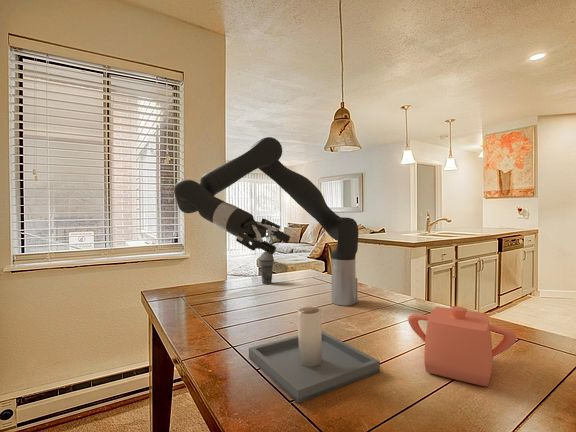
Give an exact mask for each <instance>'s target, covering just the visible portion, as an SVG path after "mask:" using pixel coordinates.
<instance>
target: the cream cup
mask: <svg viewBox="0 0 576 432" xmlns="http://www.w3.org/2000/svg"><path fill="white" fill-rule="evenodd" d="M322 331H323V330H322V309H321V308H319V307H316V306H305V307H304V306H303V307H300V308H298V309H297V336H298V347H299V363H300V364H301V365H303V366H306V367H315V366H318V365H320V364H321V363H322Z"/></svg>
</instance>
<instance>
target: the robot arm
mask: <svg viewBox="0 0 576 432" xmlns="http://www.w3.org/2000/svg"><path fill="white" fill-rule="evenodd" d="M282 155H283V147H282V144H281V142H280V141H279V140H278V139H276V138H275V137H271V136H269V137H262V138H261V139H260V140H258V141H257V142H255V143H254V144H253V145H252V146H251V147H250V148H249V150H248V151H246V152H244V153H242V154H240V155H239V156H237V157H235V158H233V159H231V160H229V161H227V162H225V163H223V164H221V165H219V166H217V167H215V168H213V169H212V170H210V171H207V172H206V173H204V174H203V175H202V176H201V177H200V182H199V183H198V182H197V181H195V180H193V179H186V178H185V179H181V180H179V181H177V183H175V185H174V188H173V193H174V196H175V200H176V202H177V207H178V209H179V210H180V211H181V212H183V213H184V214H193V213H197V212H198V213H199V216H201V217H202V218H203V219H204V220H206V221H209V222H210V223H212V224H214V225H215V226H217V227H218V228H219V229H221V230H223V231H224V232H226V233H228V234H230V235H233V236H234V237H236V240H235V241H236V242H237V243H239V244H241V245H243V246H244V247H245V248H248V249H250V250H251V251H254V252H255V251H256V249H257V250H263V252H265V251H266V252H268V253H270V254H272V255H275V253H276V250H277V247H276V245H273V244H272V243H270V242H268V241H266V240H263V238H270V237H271V238H276V239H277V240H279V241H280V242H281V241H282V242H283V243H285V244H288V243H289V242H290V239H291V236H290V235H289V234H287V233H285V232H283V231H281V225H279V224H277V223H275V222H272V221H271V220H268V219H266V218H262V219H261V221H257V220H255V217H254V215H253V214H252V213H251V212H248V211H246V210H245V209H242V208H240V207H239V206H236V205H234V204H232V203H228V202H226V201H224V200H222V199H220V198H218V197H216V194H219V193H220V192H222V191H224V190H225V189H227V188H228V187H229V188H230V186H232V185H234V184H235V183H236V182H238V181H240V180H241V179H243V178H244V177H246V176H247V175H249V174H250V173H252V172H254V171H256V170H257V169H259V170H260V171H261V172H262V173H263V174H265V175H266V176H267V177H269V178H270V179H271V180H272V181H274V182H275V183H276V184H277V185H278V186H279V187H280V188H281V189H282V190H283V191H284V192H285V193H286V194H288V196H290V197H291V198H292V199H293V201H295V203H297V204H298V205H299V206H300V207H301V208H303V210H305V211H306V212H307V214H308V215H310V217H312V218H313V219H314V220H316V222H318V223H319V226H321V227H322V229H323V230H324V231H325V232H326V233H327V234H328V236H329V237H331V238H332V239H334V240H336V241H337V242H336V243H337V244H336V247H335V249H334V250H332V251H331V303H332V304H334V305H336V306H343V307H344V306H352V305H355V304H356V303H358V277H356V272H357V271H356V254H357V253H358V249H359V246H358V245H359V225H358V224H357V221H356V220H355V219H354V218H352V217H345V216H344V217H341V216H339V215H338V214H336V213H335V212H334V211H333V210H332V209H331V208H330V207H329V206H328V205H327V204H328V203H326V200H325V198H324V196H323V194H322V192H321V191H320V189H319V187H317V186H316V185H315V184H314V183H313V182H312V181H311V180H310V179H309V178H307V177H306V176H304V175H302V174H300V173H298V172H296V171H294V170H292V169H290V168H288V167H287V166H285V165H284V164H283V163H282V162H281V161H280V159H281V158H282ZM250 243H251V244H250Z"/></svg>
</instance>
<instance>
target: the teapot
mask: <svg viewBox="0 0 576 432" xmlns="http://www.w3.org/2000/svg"><path fill="white" fill-rule="evenodd" d="M407 320H408V321H407V322H408V324H409V326H410V328H411V329H412V331H414V333H415V334H416V335H417V337H419V338H420V339H421V340H422V341H423V342H424V352H423V354H424V358H423V360H424V368H425V371H426V373H429V374H433V375H436V376H439V377H443V378H448V379H452V380H456V381H460V382H464V383H468V384H474V385H477V386H481V387H488V386H489V385H490V381H491V376H492V371H493V363H494V361H493V360H494V357H497V356H498V355H501V354H502V353H504V352H505V351H507V350H508V349H510V348H511V347H513V345H514V344H516V342H517V339H518V336H517V333H516V332H514V331H513V330H512V329H509V328H506V327H502V326H499V325H492V324H490V319H489V315H488V314H487V313H485V312H480V311H479V312H477V311H473V310H468V309H467V308H464V307H463V306H458V305H457V306H456V305H455V306H450V307H444V306H435V307H434V308H433V309H432V310H431V312H430V314H429V315H428V314H421V313H414V314H410V315H409V316H408V317H407ZM419 321H427V323H426V329H425V330H426V331H425V332H424V331H423V329H422V328H421V327H420V324H419ZM491 332H492V333H499V334H501V335H502V336H503V338H502V340H500V341H501V342H500V343H499V344H497V346H495V347H494V348H493V343H492V334H491Z"/></svg>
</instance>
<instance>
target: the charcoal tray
mask: <svg viewBox="0 0 576 432" xmlns="http://www.w3.org/2000/svg"><path fill="white" fill-rule="evenodd" d="M321 331H322V363H321V364H320V365H318V366H315V367H306V366H303V365H301V364H300V363H299V347H298V335H294V336H291V337H286V338H283V339H278V340H275V341H270V342H267V343H263V344H259V345H255V346H250V347H248V359H249V360H251V362H253V363H254V364H255V365H256V366H257V367H258V368H259V369H260V370H261V371H262V372H263V373H264V374H266V376H267V377H268V378H269V379H270V380H272V381H273V382H274V383H275V384H276V385H277V386H278V387H279V388H280V389H282V390H283V391H284V392H285V393H286V394H287V395H288V396H289V397H290V398H291V399H292V400H293V401H294V402H295V403H297V404H298V405H299V404H300V403H304V402H306V401H309V400H311V399H314V398H316V397H319V396H322V395H324V394H326V393H327V394H328V393H329V392H332V391H334V390H337V389H339V388H343V387H345V386H347V385H350V384H353V383H356V382H357V381H361V380H363V379H366V378H368V377H371V376H373V375H377V374H378V373H381V361H380V360H378V359H377V358H375V357H373V356H371V355H369V354H367V353H365V352H363V351H361V350H359V349H357V348H355V347H354V346H352V345H350V344H348V343H346V342H344V341H343V340H340V339H339V338H337V337H335V336H332V335H330V334H329V333H327V332H325V331H323V330H321Z"/></svg>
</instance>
